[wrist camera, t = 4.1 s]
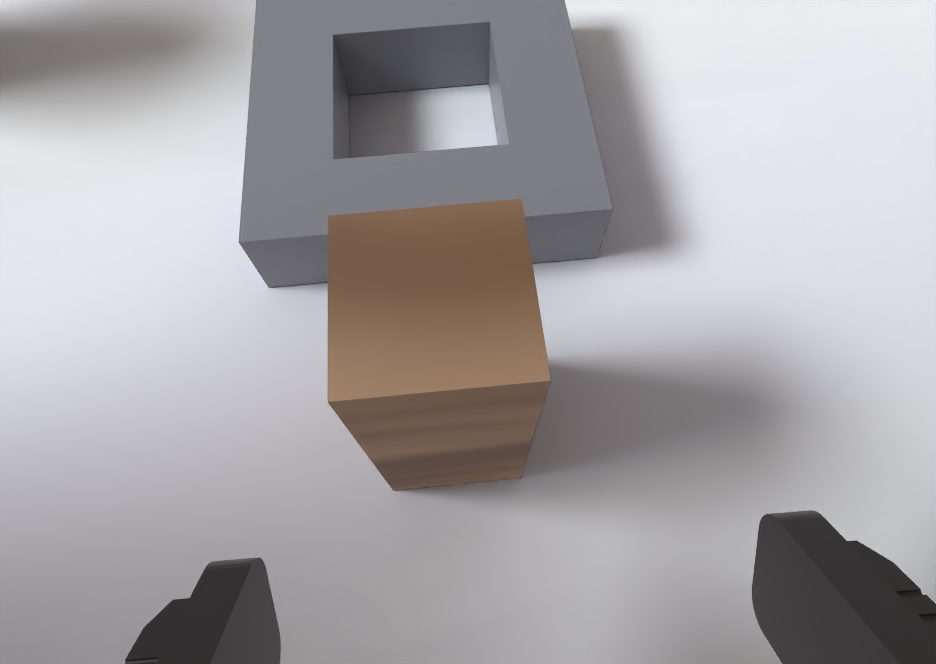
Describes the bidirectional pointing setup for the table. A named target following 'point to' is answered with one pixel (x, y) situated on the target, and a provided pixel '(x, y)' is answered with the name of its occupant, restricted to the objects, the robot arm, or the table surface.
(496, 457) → the peg
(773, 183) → the table surface
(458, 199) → the socket
